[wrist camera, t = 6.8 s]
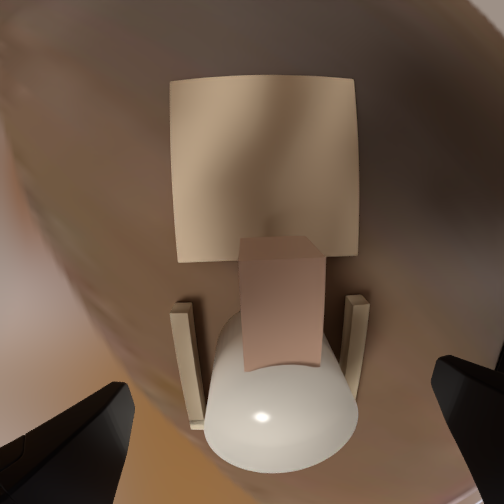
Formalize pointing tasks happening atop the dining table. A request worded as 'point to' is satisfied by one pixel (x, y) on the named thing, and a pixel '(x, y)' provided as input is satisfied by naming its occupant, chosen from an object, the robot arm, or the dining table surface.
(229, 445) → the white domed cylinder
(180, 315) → the beige u-shaped bar frame
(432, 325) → the dining table surface
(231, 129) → the coaster
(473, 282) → the dining table surface
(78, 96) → the dining table surface
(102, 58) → the dining table surface
